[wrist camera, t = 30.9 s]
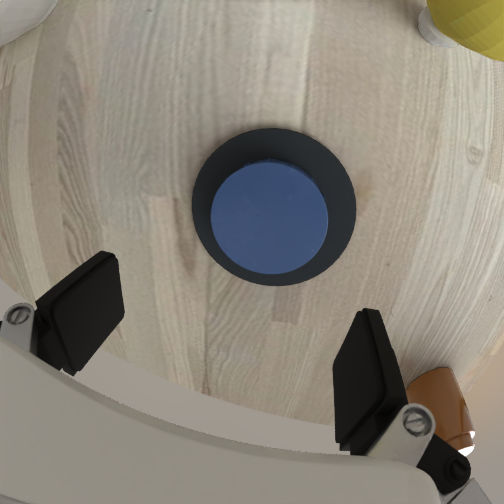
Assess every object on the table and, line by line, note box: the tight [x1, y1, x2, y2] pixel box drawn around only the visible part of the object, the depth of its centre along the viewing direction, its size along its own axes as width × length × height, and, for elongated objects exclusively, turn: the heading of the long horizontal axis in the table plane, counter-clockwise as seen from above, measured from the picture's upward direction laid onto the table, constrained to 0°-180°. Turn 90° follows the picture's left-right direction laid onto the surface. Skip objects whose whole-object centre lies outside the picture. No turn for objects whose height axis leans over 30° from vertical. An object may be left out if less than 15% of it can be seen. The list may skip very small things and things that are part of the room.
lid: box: [211, 158, 329, 274], centre depth 17 cm, size 7×7×2 cm
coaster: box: [192, 128, 356, 286], centre depth 18 cm, size 11×11×1 cm
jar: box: [406, 367, 475, 456], centre depth 19 cm, size 7×7×11 cm
